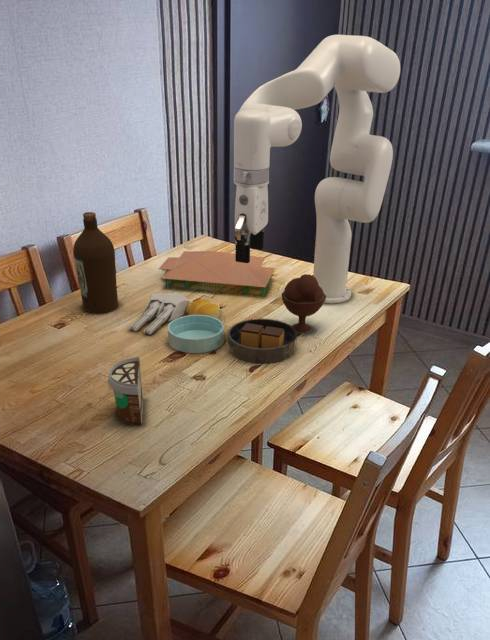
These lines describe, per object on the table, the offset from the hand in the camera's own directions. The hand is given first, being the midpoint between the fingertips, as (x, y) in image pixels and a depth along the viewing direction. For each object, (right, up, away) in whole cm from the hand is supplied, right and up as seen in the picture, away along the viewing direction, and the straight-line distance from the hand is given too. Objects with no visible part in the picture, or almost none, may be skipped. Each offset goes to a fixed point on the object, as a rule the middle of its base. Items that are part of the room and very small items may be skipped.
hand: (249, 255), depth 152 cm
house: (-8, +7, +48) cm, 49 cm away
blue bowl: (-13, -18, +14) cm, 26 cm away
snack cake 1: (+1, -19, +12) cm, 22 cm away
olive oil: (-40, -5, +32) cm, 51 cm away
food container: (-26, -37, -12) cm, 46 cm away
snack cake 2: (+6, -20, +10) cm, 23 cm away
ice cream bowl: (+14, -14, +20) cm, 28 cm away
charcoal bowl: (+3, -20, +11) cm, 23 cm away
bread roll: (-12, -9, +27) cm, 30 cm away
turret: (-23, -10, +25) cm, 35 cm away
